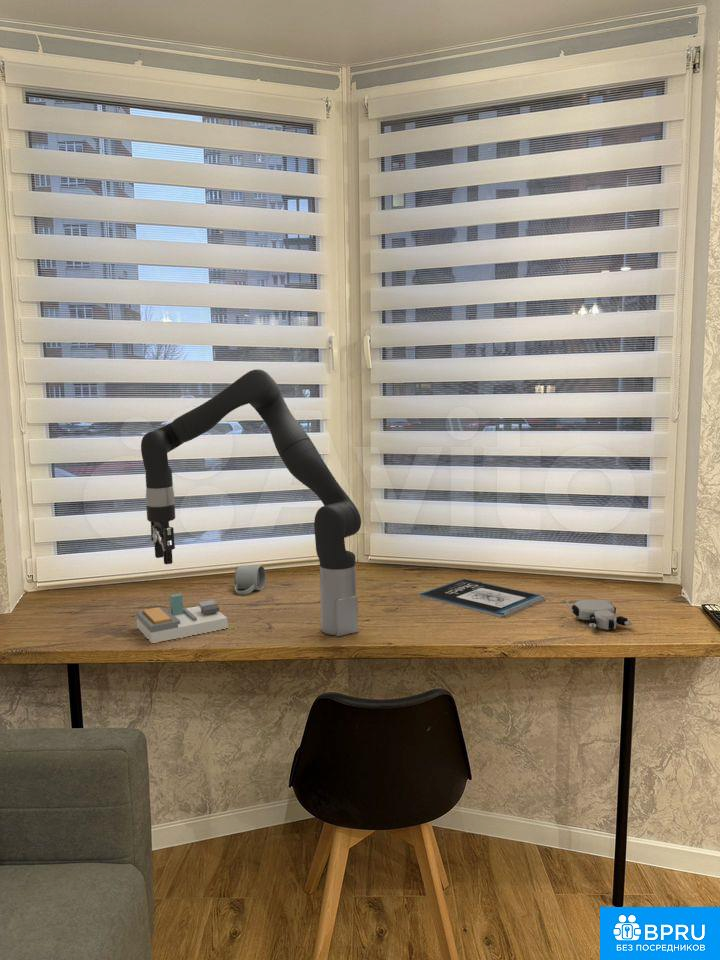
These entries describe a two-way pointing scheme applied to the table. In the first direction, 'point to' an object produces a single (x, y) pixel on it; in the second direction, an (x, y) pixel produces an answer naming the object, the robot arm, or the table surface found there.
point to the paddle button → (156, 615)
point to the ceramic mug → (249, 578)
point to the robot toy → (598, 613)
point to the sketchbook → (484, 597)
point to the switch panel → (181, 624)
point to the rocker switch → (208, 607)
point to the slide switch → (176, 604)
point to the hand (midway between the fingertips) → (163, 560)
